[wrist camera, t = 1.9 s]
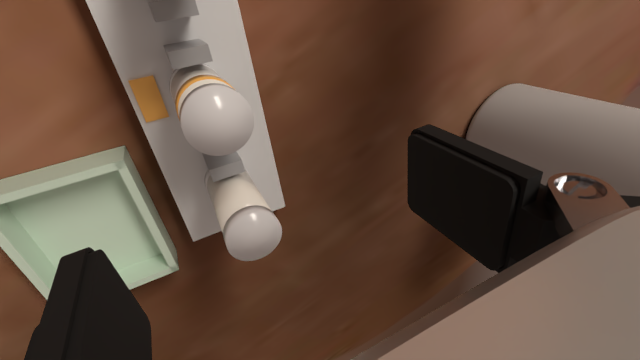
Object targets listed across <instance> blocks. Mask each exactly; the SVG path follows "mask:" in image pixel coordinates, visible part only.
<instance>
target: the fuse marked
mask: <svg viewBox="0 0 640 360" xmlns="http://www.w3.org/2000/svg"><path fill="white" fill-rule="evenodd" d="M169 90H170V93H171V96H172V99H173V101H174V103H175V108H176V112H177V115H178V118H179V121H180V125H181V128H182V131H183V134H184V136H185V138H186V140H187V141H188V142H189V144H190V145H191V146H192V147H194V148H195V149H196V150H198V151H200V152H201V153H204V154H207V155H211V156H224V155H228V154H231V153H234V152H236V151H237V150H239V149H240V148H242V147H243V146H244V145H245V144H246V143H247V141H248V140H249V138H250V136H251V134H252V132H253V127H254V116H253V112H252V109H251V107H250V105H249V103H248V102H247V101H246V99H245V98H244V97H243V96H242V95H240V94H239V93H238V92H237V91H236V90H235V89H234V88H233V87H232V86H231V85H230V84H229V83H227V82H226V81H225V80H223V79H222V78H221V77H220V76H219V74H218V73H217V72H216V71H215V70H214V69H212V68H211V67H210V66H208V65H206V64H204V63H202V64H198V65H193V66H189V67H184V68H180V69H175V70H174V71H173V73H172V75H171V77H170V80H169Z"/></svg>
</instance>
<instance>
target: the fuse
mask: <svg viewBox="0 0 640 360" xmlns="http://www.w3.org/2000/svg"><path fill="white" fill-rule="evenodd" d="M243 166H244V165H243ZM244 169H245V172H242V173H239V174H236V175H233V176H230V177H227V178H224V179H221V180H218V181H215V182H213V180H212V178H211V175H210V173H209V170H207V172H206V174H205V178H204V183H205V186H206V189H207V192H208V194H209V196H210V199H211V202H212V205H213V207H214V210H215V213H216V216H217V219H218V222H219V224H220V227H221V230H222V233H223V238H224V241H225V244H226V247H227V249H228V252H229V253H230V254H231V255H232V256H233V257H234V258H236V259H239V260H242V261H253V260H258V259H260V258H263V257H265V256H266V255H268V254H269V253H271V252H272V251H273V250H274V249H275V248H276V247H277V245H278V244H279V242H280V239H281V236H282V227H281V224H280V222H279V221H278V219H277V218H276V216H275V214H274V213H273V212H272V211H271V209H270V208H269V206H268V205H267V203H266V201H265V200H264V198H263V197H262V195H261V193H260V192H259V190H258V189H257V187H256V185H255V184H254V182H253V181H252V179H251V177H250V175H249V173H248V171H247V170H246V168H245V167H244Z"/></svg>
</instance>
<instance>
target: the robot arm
mask: <svg viewBox="0 0 640 360" xmlns="http://www.w3.org/2000/svg"><path fill="white" fill-rule="evenodd" d="M542 175H543V171H540V170H538V169H535V168H533V167H531V166H528V165H526V164H523V163H521V162H519V161H516V160H514V159H511V158H509V157H507V156H504V155H502V154H499V153H497V152H495V151H492V150H490V149H488V148H485V147H483V146H480V145H478V144H476V143H473V142H471V141H468V140H466V139H464V138H461V137H459V136H456V135H454V134H452V133H449V132H447V131H444V130H442V129H440V128H437V127H435V126H432V125H426V126H423V127H420V128H417V129H414V130H413V131H412V133H411V135H410V136H409V138H408V204H409V207H410V208H411V210H412V211H413V212H415V213H416V214H417V215H419V216H420V217H421V218H423V219H424V220H425V221H427V222H428V223H429V224H431V225H432V226H433V227H434V228H436V229H437V230H438V231H440V232H441V233H442V234H444V235H445V236H446V237H448V238H449V239H450V240H451V241H453V242H454V243H455V244H457V245H458V246H459V247H461V248H462V249H463V250H465V251H466V252H467V253H469V254H470V255H471V256H472V257H474V258H475V259H476V260H478V261H479V262H480V263H482V264H483V265H484V266H486V267H487V268H489V269H490V270H495V271H497V272H498V274H496V275H495V276H493V277H491V278H489V279H488V280H486V281H484V282H483V283H481V284H479V285H477V286H476V287H474V288H472V289H470V290H469V291H467V292H465V293H463V294H462V295H460V296H458V297H457V298H455V299H453V300H451V301H450V302H448V303H446V304H445V305H443V306H441V307H439V308H438V309H436V310H434V311H432V312H431V313H429V314H427V315H426V316H424V317H422V318H420V319H419V320H417V321H415V322H414V323H412V324H410V325H408V326H407V327H405V328H404V329H402V330H400V331H398V332H396V333H395V334H393V335H391V336H390V337H388V338H386V339H384V340H383V341H381V342H379V343H378V344H376V345H374V346H372V347H371V348H369V349H367V350H366V351H364V352H362V353H361V354H359V355H357V356H355V357H354V358H352V359H350V360H640V196H626V195H619V194H618V193H617V192H616V190H615V189H614V188H613V187H612V186H611V185H610V184H608V183H607V182H605V181H603V180H602V179H600V178H597V177H594V176H591V175H587V174H582V173H572V172H567V173H559V174H555V175H553V176H551V177H550V178H549V179H548V181H547V185H546V186H545V185H543V184H541V179H542ZM24 360H152V347H151V326H150V322H149V320H148V317H147V316H146V314H145V312H144V311H143V309H142V308H141V306H140V305H139V303H138V302H137V300H136V299H135V297H134V296H133V294H132V293H131V291H130V290H129V288H128V287H127V285H126V284H125V282H124V281H123V279H122V278H121V276H120V275H119V273H118V272H117V270H116V269H115V267H114V266H113V264H112V263H111V261H110V260H109V258H108V257H107V255H106V254H105V253H104V251H103V250H101V249H99V250H96V251H94V250H93V249H92V248H90V247H87V248H85V249H82V250H79V251H76V252H73V253H71V254H68V255H65V256H63V257H61V259H60V261H59V264H58V267H57V271H56V274H55V277H54V280H53V283H52V286H51V290H50V293H49V296H48V299H47V302H46V305H45V308H44V312H43V315H42V318H41V321H40V324H39V325H38V326H37V327H36V328H35V330H34V332H33V334H32V337H31V340H30V343H29V346H28V349H27V352H26V355H25V358H24Z"/></svg>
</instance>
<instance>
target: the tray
mask: <svg viewBox="0 0 640 360" xmlns="http://www.w3.org/2000/svg"><path fill="white" fill-rule="evenodd" d="M0 247H1V248H2V249H3V250H4V251H5V252H6V254H7V255H8V256H9V257H10V258H11V259H12V260H13V262H14V263H15V264H16V265H17V266H18V267H19V269H20V270H21V271H22V272H23V273H24V274H25V275H26V277H27V278H28V279H29V280H30V281H31V282H32V283H33V285H34V286H35V287H36V288H37V289H38V290H39V291H40V293H41V294H42V295H43V296H44V297H45V298H46V300H47V299H48V296H49V293H50V290H51V286H52V283H53V280H54V277H55V274H56V271H57V267H58V264H59V261H60V259H61V257H63V256H65V255H68V254H71V253H73V252H76V251H79V250H82V249H85V248H87V247H90V248H92V249H93V250H94V251H96V250H99V249H101V250H103V251H104V253H105V254H106V255H107V257H108V258H109V260H110V261H111V263H112V264H113V266H114V267H115V269H116V270H117V272H118V273H119V275H120V276H121V278H122V279H123V281H124V282H125V284H126V285H127V287H128V288H129V290H130V289H133V288H135V287H138V286H140V285H143V284H145V283H148V282H150V281H153V280H155V279H158V278H160V277H163V276H165V275H168V274H170V273H172V272H175V271H177V270H179V265H178V258H177V251H176V248H175V246H174V244H173V242H172V240H171V238H170V236H169V234H168V232H167V230H166V228H165V226H164V224H163V222H162V220H161V218H160V216H159V214H158V211H157V209H156V207H155V205H154V203H153V201H152V199H151V197H150V195H149V193H148V191H147V189H146V187H145V185H144V183H143V181H142V179H141V177H140V175H139V173H138V171H137V169H136V167H135V165H134V163H133V161H132V159H131V157H130V155H129V153H128V151H127V148H126V146H125V145H124V146H120V147H117V148H113V149H110V150H106V151H102V152H99V153H95V154H91V155H88V156H84V157H81V158H77V159H73V160H70V161H66V162H62V163H59V164H55V165H52V166H48V167H44V168H41V169H37V170H33V171H30V172H26V173H23V174H19V175H15V176H12V177H8V178H5V179H1V180H0Z"/></svg>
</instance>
